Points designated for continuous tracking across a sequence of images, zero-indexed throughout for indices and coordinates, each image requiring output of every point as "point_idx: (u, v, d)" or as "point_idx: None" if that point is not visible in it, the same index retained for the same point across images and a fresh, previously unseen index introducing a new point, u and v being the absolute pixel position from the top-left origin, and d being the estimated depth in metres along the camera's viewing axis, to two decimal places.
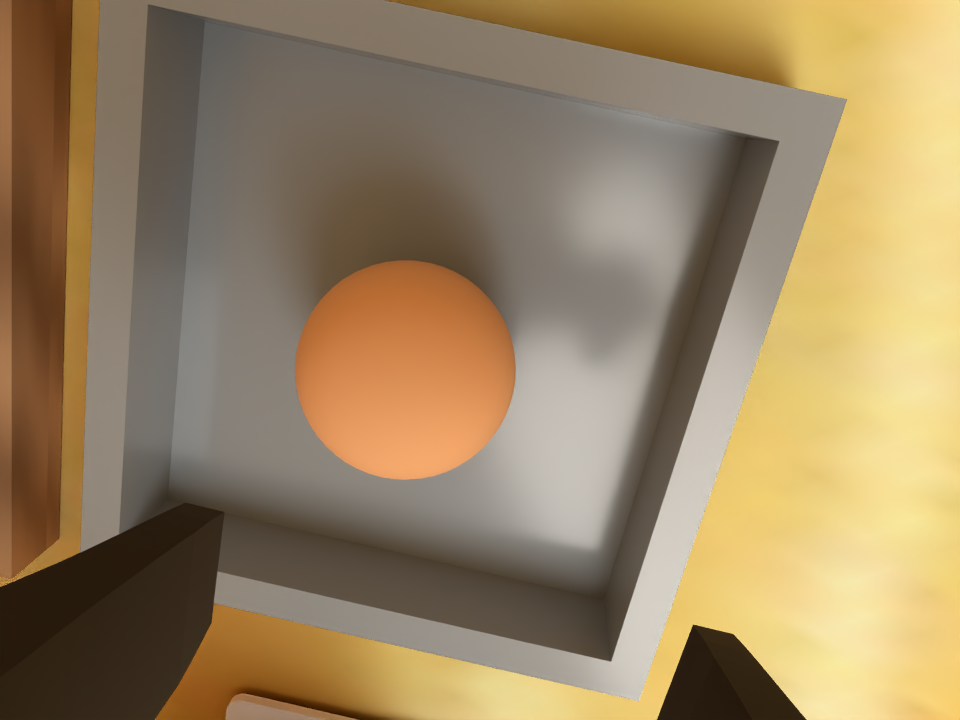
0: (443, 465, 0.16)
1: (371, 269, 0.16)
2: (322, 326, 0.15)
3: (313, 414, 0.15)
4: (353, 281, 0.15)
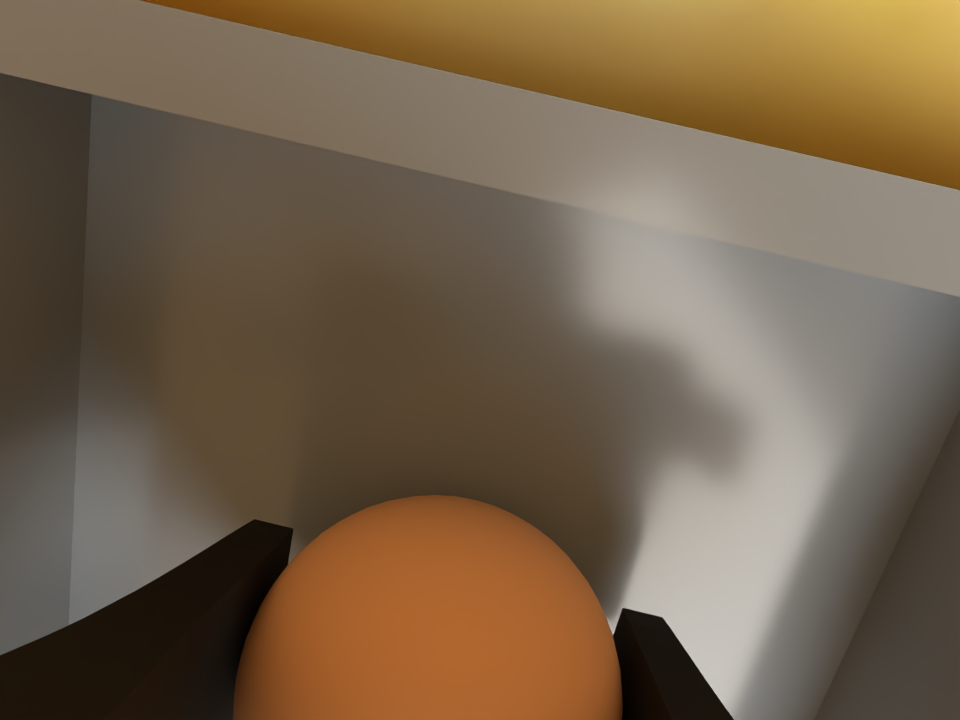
0: None
1: (371, 540, 0.09)
2: (278, 669, 0.08)
3: None
4: (338, 571, 0.08)
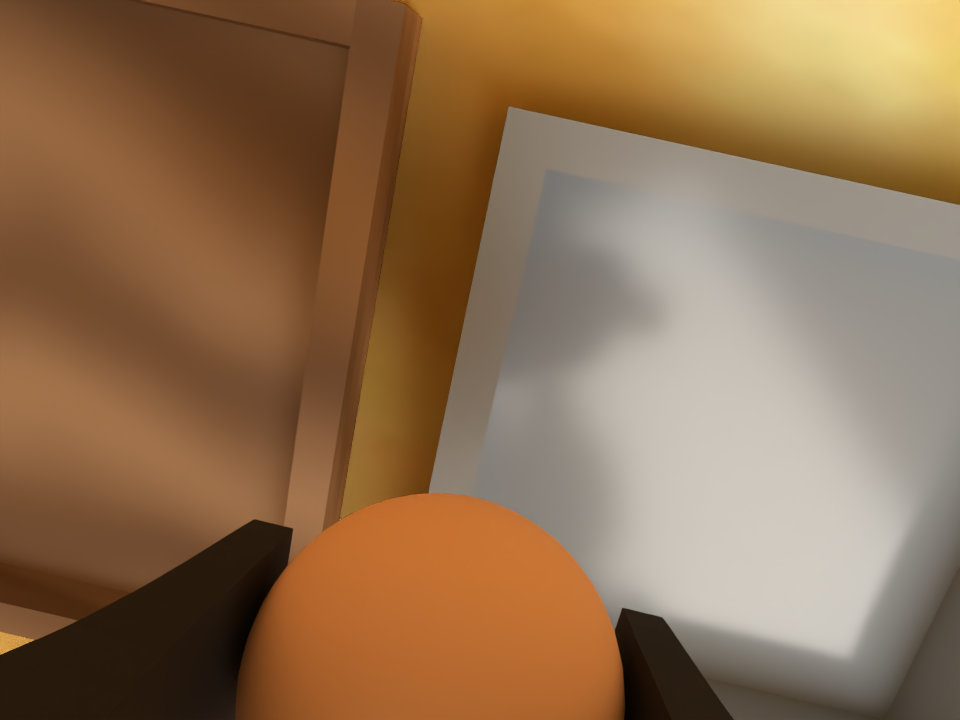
0: None
1: (374, 538, 0.09)
2: (281, 667, 0.08)
3: None
4: (341, 568, 0.08)
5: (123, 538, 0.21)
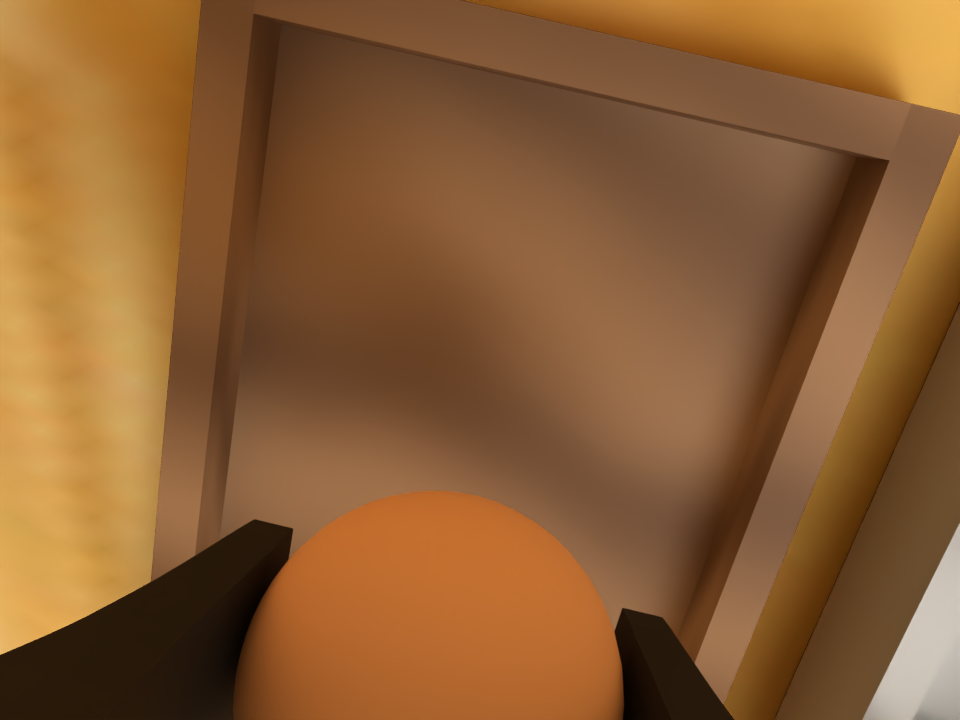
0: None
1: (372, 535, 0.09)
2: (278, 664, 0.08)
3: None
4: (339, 565, 0.08)
5: None
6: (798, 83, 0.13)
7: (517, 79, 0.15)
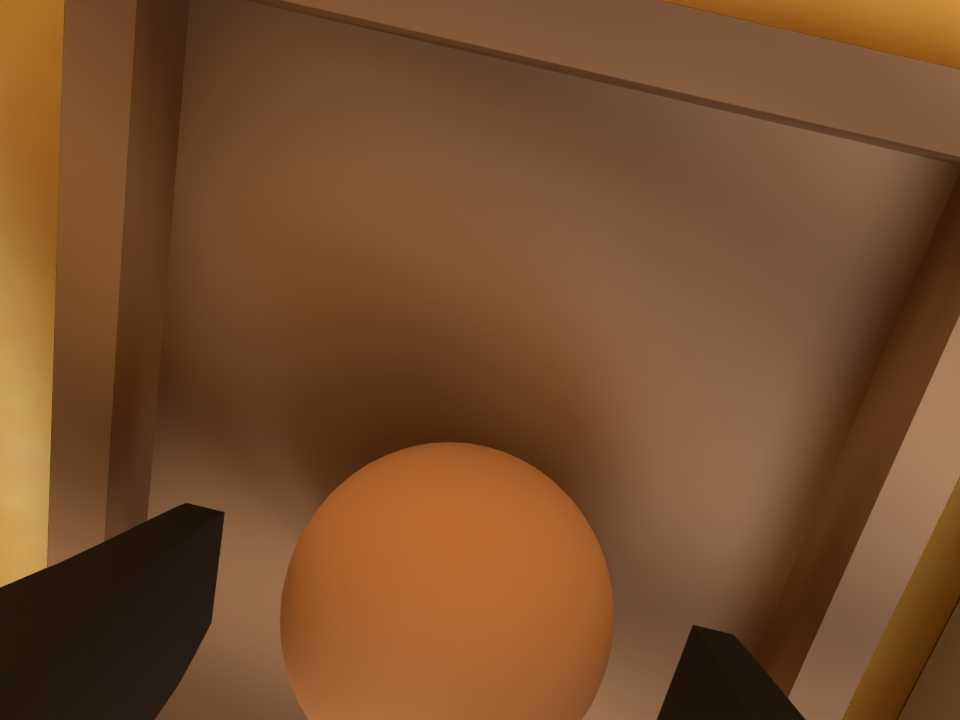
0: None
1: (399, 473, 0.10)
2: (323, 577, 0.09)
3: (306, 709, 0.10)
4: (371, 497, 0.10)
5: None
6: (900, 63, 0.09)
7: (506, 61, 0.11)
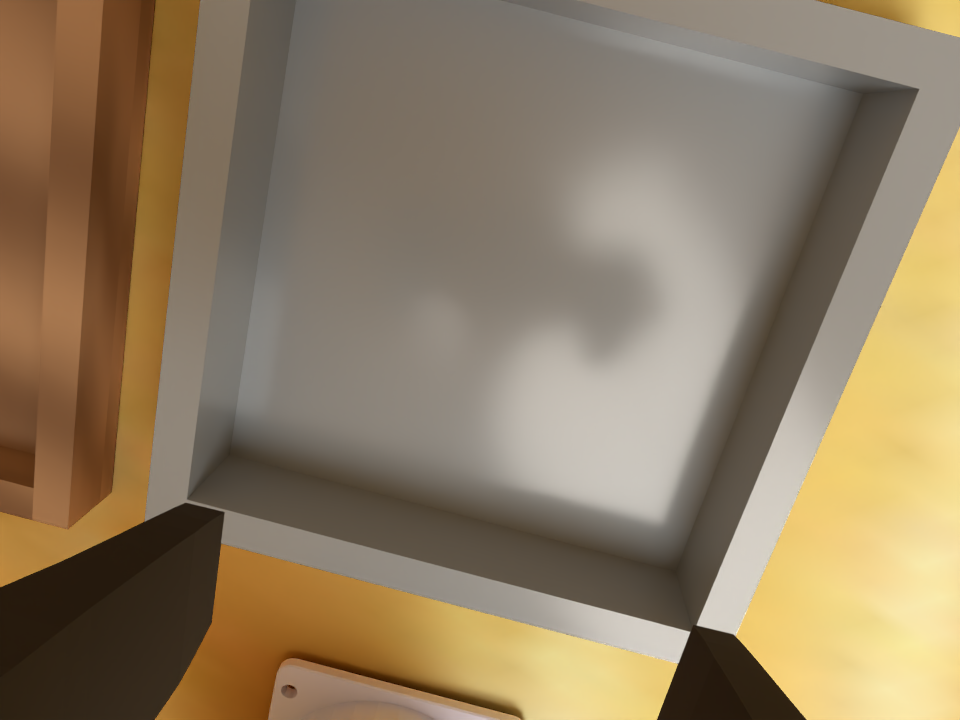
0: None
1: None
2: None
3: None
4: None
5: None
6: None
7: None
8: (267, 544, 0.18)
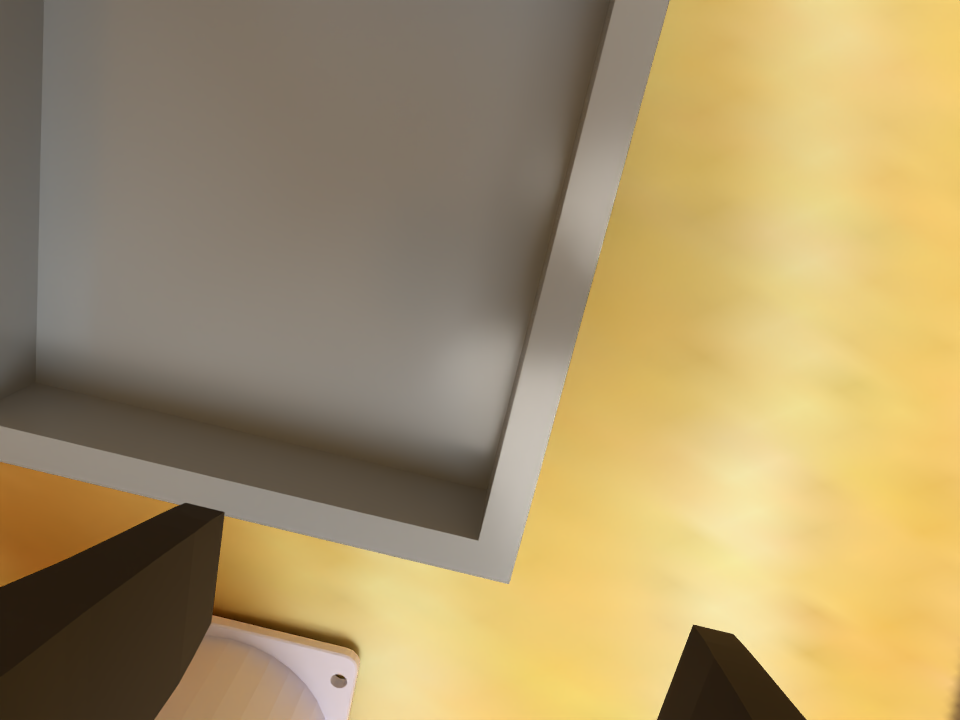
0: None
1: None
2: None
3: None
4: None
5: None
6: None
7: None
8: (50, 461, 0.18)
